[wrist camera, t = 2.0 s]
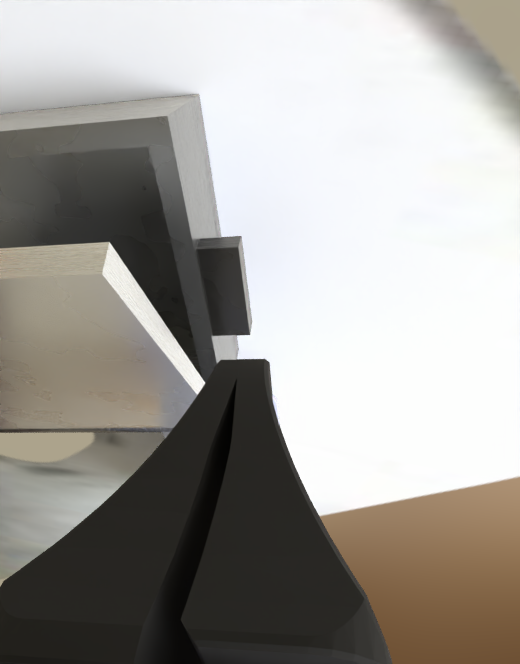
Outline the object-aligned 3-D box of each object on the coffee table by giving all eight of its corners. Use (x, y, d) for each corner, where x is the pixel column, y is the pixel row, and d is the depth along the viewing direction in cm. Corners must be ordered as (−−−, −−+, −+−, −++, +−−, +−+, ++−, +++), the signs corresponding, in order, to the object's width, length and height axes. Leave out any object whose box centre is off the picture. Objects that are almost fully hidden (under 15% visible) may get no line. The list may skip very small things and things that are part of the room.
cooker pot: (266, 347, 24) (259, 412, 20) (-38, 356, 26) (-99, 415, 22) (238, 90, 17) (218, 111, 13) (-184, 131, 19) (-317, 160, 15)
